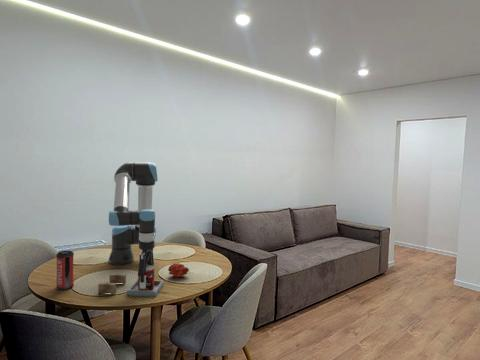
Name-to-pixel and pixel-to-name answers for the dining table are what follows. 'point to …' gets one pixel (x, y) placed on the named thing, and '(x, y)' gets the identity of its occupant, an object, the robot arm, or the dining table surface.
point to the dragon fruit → (178, 270)
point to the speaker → (64, 270)
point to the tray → (136, 292)
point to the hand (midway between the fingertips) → (146, 284)
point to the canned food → (148, 278)
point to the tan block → (111, 283)
